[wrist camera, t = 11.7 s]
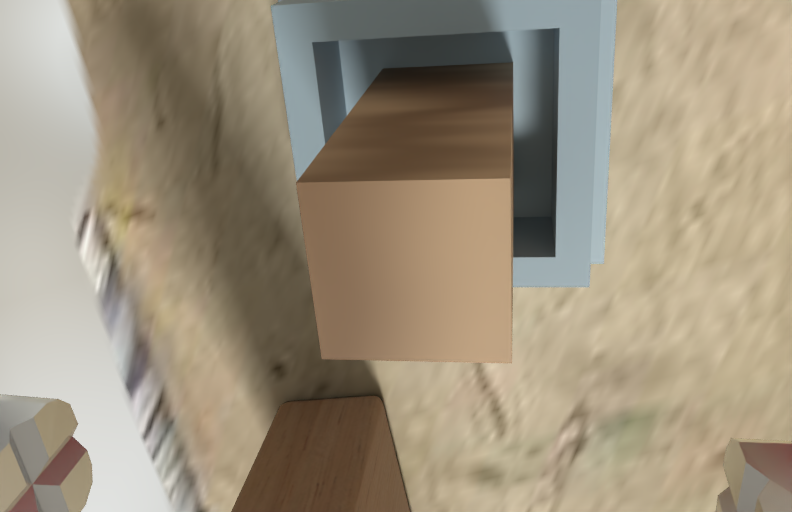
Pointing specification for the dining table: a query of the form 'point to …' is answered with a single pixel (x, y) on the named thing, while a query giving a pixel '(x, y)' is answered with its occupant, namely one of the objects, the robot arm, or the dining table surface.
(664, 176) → the dining table surface
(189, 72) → the dining table surface
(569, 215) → the cradle
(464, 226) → the wood grain brick
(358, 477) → the wooden block
